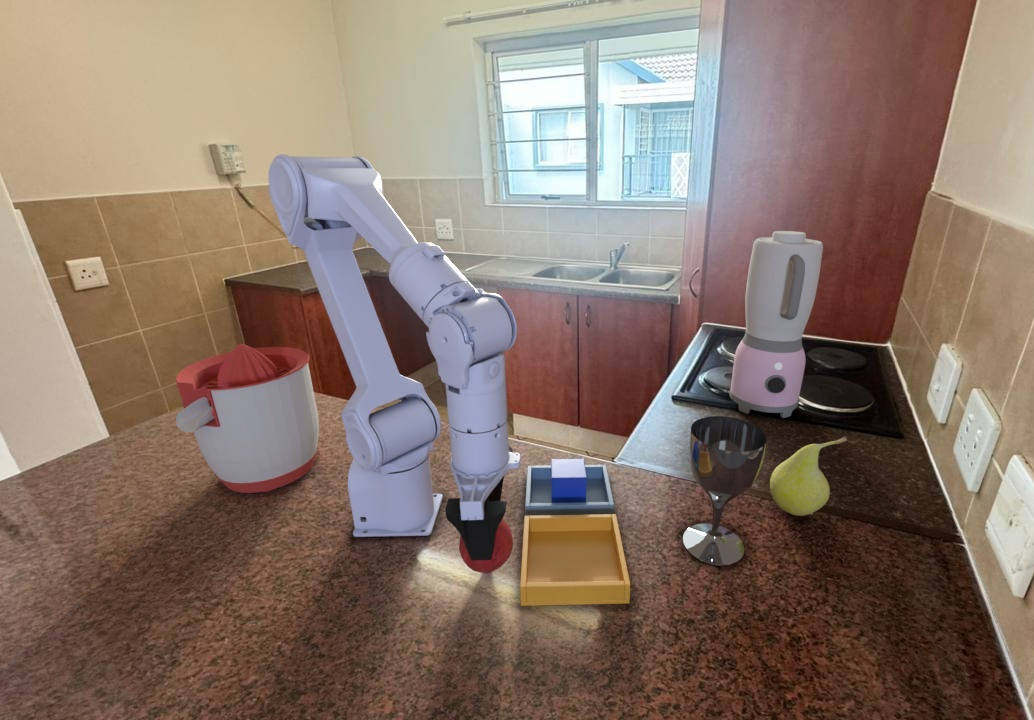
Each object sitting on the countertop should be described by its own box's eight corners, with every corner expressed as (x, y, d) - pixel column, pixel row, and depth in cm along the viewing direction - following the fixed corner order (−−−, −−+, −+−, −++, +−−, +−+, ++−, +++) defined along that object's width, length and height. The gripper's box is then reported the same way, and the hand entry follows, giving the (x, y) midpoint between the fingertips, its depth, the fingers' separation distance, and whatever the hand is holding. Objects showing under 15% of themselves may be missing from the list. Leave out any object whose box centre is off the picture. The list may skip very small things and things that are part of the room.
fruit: (770, 488, 70) (784, 411, 66) (830, 505, 67) (848, 425, 62) (762, 514, 65) (776, 433, 61) (826, 534, 61) (846, 449, 57)
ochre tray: (520, 606, 51) (519, 587, 50) (524, 532, 62) (524, 515, 61) (629, 603, 51) (630, 584, 51) (615, 530, 62) (616, 513, 61)
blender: (724, 388, 102) (745, 228, 91) (787, 393, 100) (816, 229, 89) (737, 425, 88) (763, 238, 76) (810, 430, 86) (849, 240, 74)
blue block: (551, 507, 65) (551, 478, 64) (551, 486, 70) (551, 458, 68) (585, 506, 66) (586, 477, 64) (583, 486, 70) (584, 458, 68)
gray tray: (525, 522, 63) (525, 506, 62) (527, 480, 72) (527, 465, 71) (613, 521, 64) (614, 504, 63) (605, 479, 72) (606, 464, 71)
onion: (504, 594, 53) (501, 532, 50) (453, 585, 54) (447, 524, 51) (519, 555, 58) (517, 497, 55) (472, 548, 59) (468, 491, 56)
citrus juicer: (169, 496, 68) (123, 359, 61) (278, 437, 84) (252, 322, 76) (249, 524, 63) (210, 378, 56) (351, 456, 78) (330, 334, 71)
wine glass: (748, 529, 62) (765, 422, 57) (748, 575, 55) (768, 457, 50) (682, 516, 65) (693, 411, 59) (675, 558, 57) (687, 444, 52)
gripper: (514, 458, 43) (519, 582, 47) (522, 389, 56) (525, 491, 61) (431, 459, 42) (444, 584, 47) (459, 390, 56) (467, 492, 61)
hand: (485, 532), depth 54 cm, fingers open, 7 cm apart
